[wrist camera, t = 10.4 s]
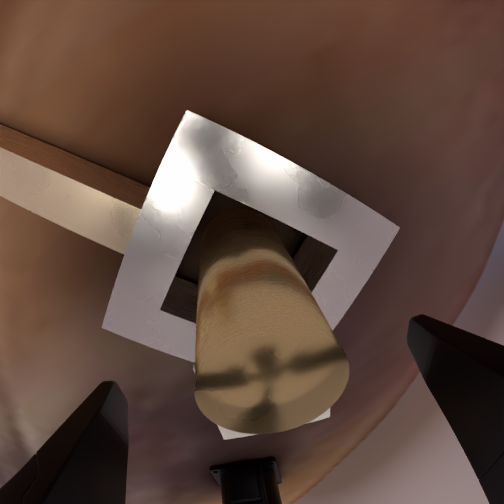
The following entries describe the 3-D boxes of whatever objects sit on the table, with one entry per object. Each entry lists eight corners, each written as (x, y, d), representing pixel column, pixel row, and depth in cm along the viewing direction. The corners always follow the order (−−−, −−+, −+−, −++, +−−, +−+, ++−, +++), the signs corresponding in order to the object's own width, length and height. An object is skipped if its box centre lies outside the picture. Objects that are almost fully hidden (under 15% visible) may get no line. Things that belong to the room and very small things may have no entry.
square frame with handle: (276, 348, 19) (287, 388, 16) (-37, 211, 13) (-71, 230, 9) (366, 206, 16) (399, 227, 13) (6, 49, 10) (-31, 41, 7)
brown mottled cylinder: (281, 271, 17) (346, 414, 8) (210, 285, 17) (216, 443, 8) (271, 201, 16) (351, 311, 7) (193, 216, 16) (173, 348, 6)
